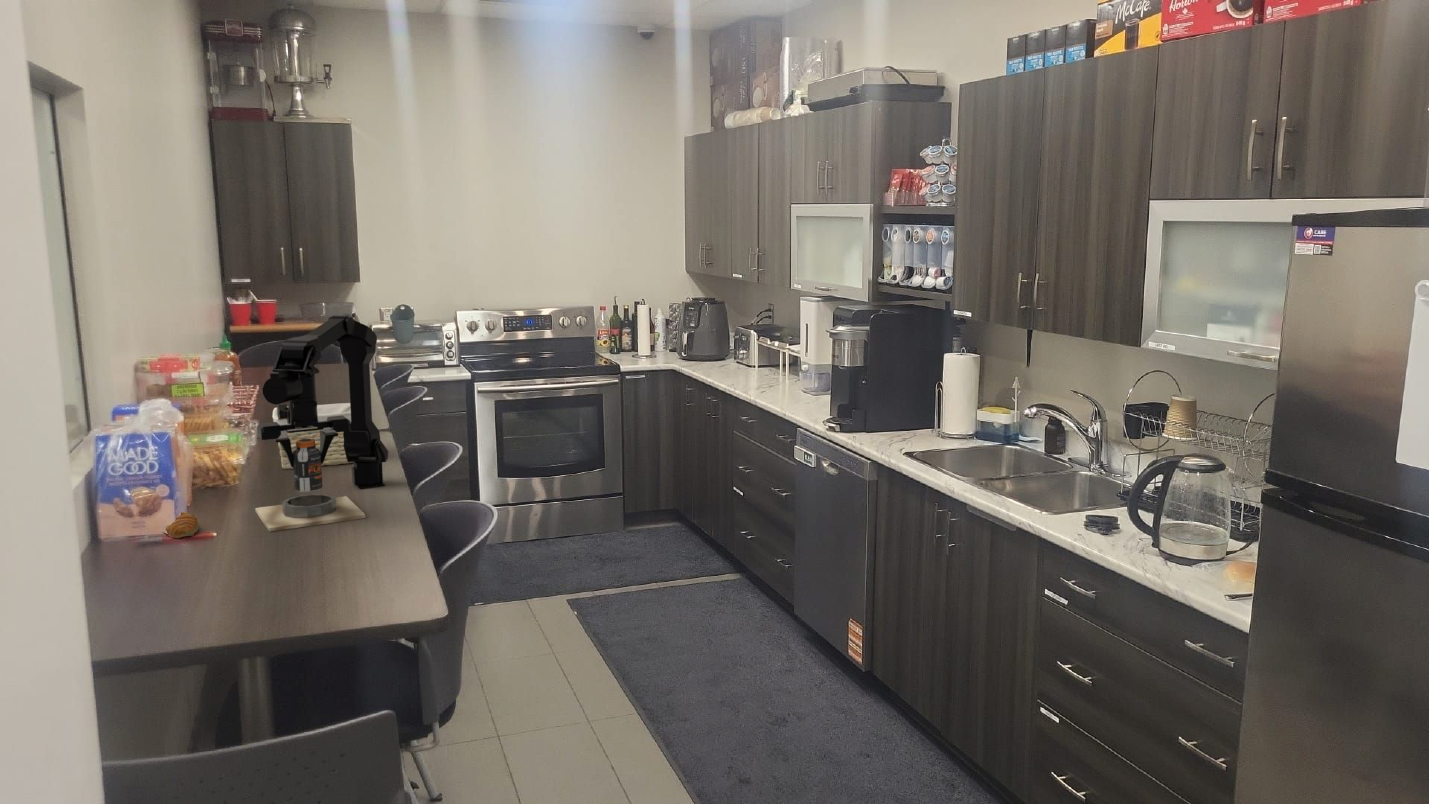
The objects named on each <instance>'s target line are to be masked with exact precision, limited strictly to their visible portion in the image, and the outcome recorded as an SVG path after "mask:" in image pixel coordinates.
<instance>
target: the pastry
mask: <svg viewBox="0 0 1429 804" xmlns="http://www.w3.org/2000/svg"><path fill="white" fill-rule="evenodd" d="M199 527H200V523H199V521H198V519H197V517H196V516H195V515H194V514H190V513H188V512H183V511H181V515H180V516H178V517H177V518H176V520H175V522H173V523H172V524H171V525H169V526H168V527H167V528H166V531H167V533H168V535H170V536H171V537H170V536H169V537H170V538H172V539H174V538H175V539H180V538H182V537H190V536H192V535H193V536H194V533H195V532H196V533H197V532H199V530H198V529H199ZM196 533H195V534H196ZM168 535H167V536H168Z"/></svg>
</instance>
